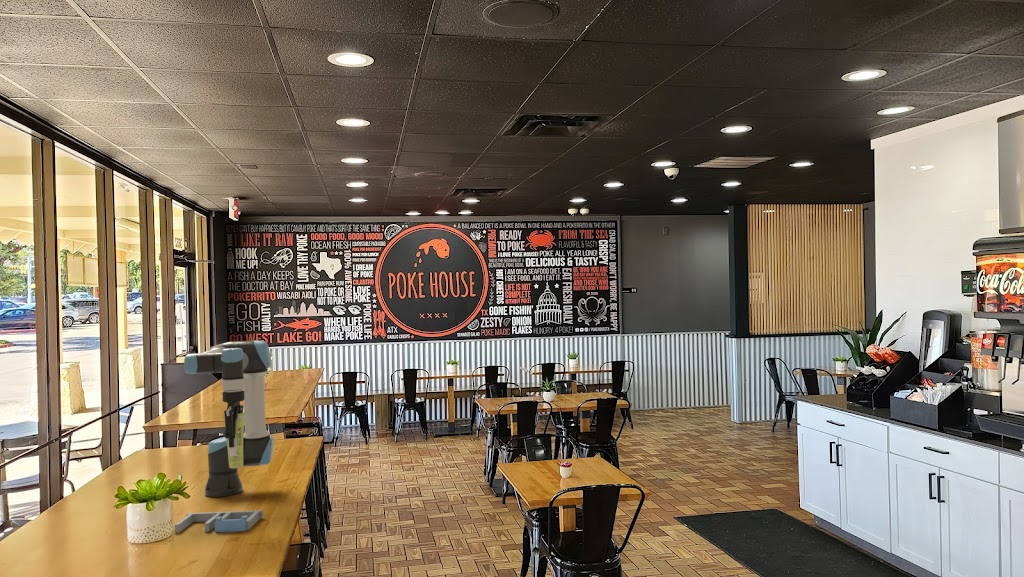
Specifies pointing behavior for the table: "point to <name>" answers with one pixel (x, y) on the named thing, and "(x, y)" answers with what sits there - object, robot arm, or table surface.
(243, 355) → the robot arm
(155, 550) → the table surface
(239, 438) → the tube
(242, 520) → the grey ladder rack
